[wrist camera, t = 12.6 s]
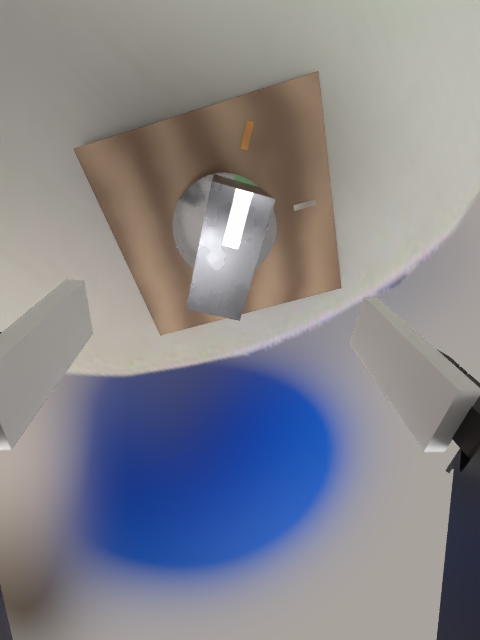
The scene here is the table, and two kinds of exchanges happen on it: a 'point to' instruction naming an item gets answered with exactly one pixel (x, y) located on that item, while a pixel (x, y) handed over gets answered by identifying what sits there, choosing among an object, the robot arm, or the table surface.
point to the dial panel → (216, 157)
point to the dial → (223, 240)
